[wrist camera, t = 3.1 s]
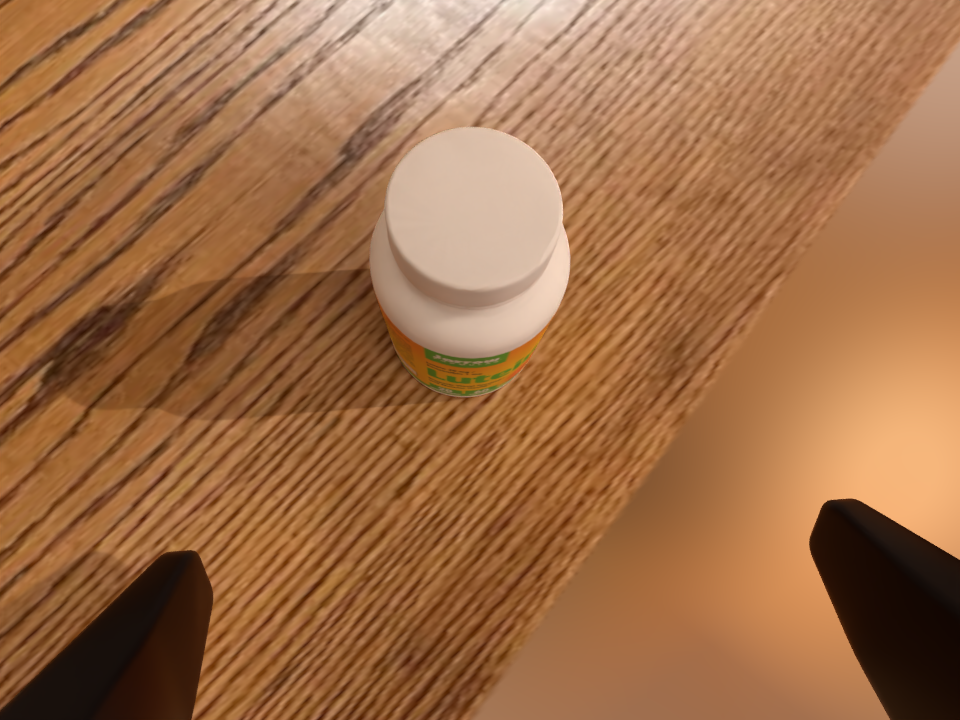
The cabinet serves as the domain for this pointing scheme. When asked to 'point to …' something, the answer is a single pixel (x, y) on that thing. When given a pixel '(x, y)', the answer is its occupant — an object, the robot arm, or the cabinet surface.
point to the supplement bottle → (469, 259)
